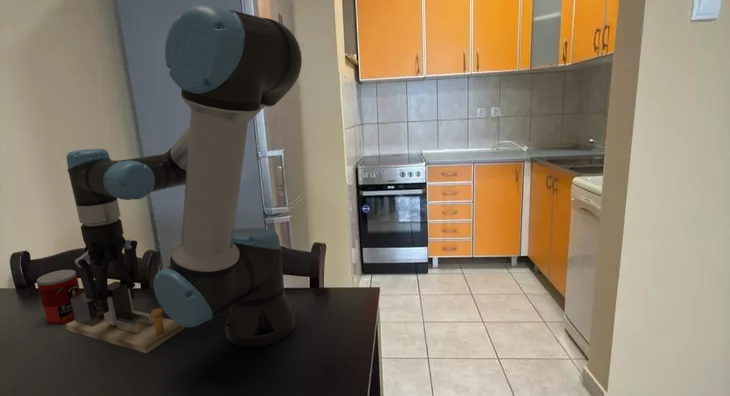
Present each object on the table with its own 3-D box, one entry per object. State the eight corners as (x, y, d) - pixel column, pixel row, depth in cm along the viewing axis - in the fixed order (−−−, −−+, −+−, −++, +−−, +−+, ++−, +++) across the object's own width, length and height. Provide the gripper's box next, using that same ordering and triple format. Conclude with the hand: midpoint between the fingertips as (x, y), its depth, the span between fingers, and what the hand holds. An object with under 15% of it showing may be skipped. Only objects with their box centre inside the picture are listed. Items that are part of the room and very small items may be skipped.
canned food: (65, 326, 96) (55, 283, 93) (38, 323, 97) (27, 281, 95) (92, 310, 103) (84, 270, 100) (66, 308, 105) (57, 268, 102)
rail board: (184, 328, 93) (183, 322, 92) (146, 353, 84) (145, 347, 83) (108, 309, 103) (107, 304, 102) (67, 330, 94) (65, 324, 94)
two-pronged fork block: (153, 322, 92) (147, 286, 90) (135, 333, 88) (128, 295, 86) (99, 309, 100) (92, 275, 97) (80, 318, 95) (72, 283, 93)
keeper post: (168, 331, 89) (164, 309, 88) (159, 336, 87) (155, 314, 86) (161, 329, 90) (157, 307, 89) (152, 334, 88) (148, 312, 87)
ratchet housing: (120, 312, 98) (115, 289, 97) (92, 326, 92) (87, 302, 91) (103, 308, 101) (99, 285, 99) (75, 321, 95) (70, 298, 93)
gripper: (124, 210, 97) (141, 299, 102) (48, 231, 82) (72, 334, 87) (146, 212, 94) (162, 304, 99) (71, 234, 79) (95, 341, 84)
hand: (120, 318), depth 93 cm, fingers closed on two-pronged fork block, 4 cm apart
